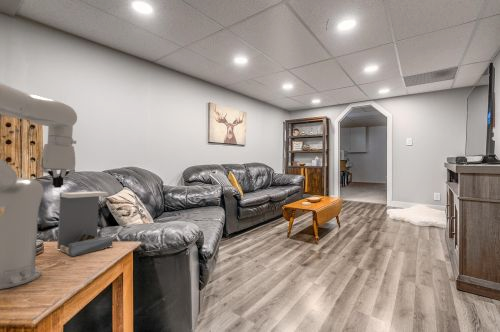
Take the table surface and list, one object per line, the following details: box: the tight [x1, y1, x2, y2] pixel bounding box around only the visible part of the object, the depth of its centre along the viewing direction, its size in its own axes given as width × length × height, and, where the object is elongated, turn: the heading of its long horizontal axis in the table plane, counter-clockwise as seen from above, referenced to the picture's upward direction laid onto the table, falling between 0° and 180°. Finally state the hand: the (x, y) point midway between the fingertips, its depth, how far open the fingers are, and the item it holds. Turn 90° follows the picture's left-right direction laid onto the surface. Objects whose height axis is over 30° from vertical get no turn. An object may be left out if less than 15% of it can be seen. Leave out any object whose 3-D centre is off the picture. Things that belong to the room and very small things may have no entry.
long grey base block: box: [59, 235, 113, 257], centre depth 99 cm, size 12×15×4 cm
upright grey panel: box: [57, 190, 109, 249], centre depth 102 cm, size 10×15×24 cm, turn 148°
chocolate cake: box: [75, 231, 98, 243], centre depth 100 cm, size 10×7×12 cm
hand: (57, 187), depth 90 cm, fingers closed
